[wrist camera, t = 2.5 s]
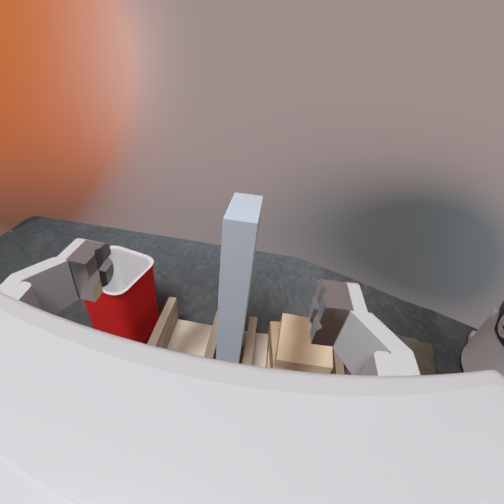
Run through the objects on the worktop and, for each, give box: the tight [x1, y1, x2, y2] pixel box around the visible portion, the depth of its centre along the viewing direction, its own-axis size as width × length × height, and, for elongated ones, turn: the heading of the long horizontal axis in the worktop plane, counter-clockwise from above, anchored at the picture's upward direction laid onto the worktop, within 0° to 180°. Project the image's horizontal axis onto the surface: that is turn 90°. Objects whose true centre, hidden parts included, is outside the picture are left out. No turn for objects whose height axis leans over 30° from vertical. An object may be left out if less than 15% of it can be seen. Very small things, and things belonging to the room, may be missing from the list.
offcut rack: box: [147, 297, 345, 374], centre depth 33 cm, size 22×10×6 cm, turn 84°
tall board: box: [216, 193, 263, 363], centre depth 28 cm, size 2×6×20 cm, turn 174°
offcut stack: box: [265, 313, 333, 374], centre depth 32 cm, size 7×8×6 cm
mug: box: [84, 245, 159, 343], centre depth 34 cm, size 12×8×11 cm
